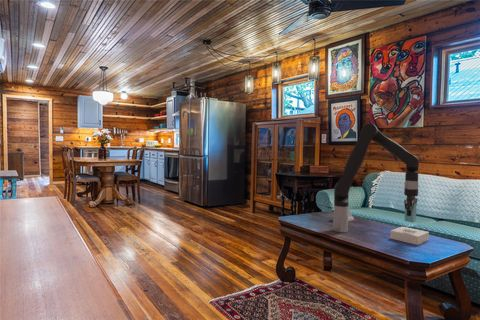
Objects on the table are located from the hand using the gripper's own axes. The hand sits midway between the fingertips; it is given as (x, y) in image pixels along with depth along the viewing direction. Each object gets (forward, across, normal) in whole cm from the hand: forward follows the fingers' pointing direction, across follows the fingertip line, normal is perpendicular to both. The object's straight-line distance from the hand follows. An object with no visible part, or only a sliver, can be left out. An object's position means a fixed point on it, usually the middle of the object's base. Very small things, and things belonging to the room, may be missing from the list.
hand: (410, 215), depth 193 cm
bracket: (+4, 0, 0) cm, 4 cm away
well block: (+15, 0, 0) cm, 15 cm away
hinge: (+15, -11, -53) cm, 56 cm away
